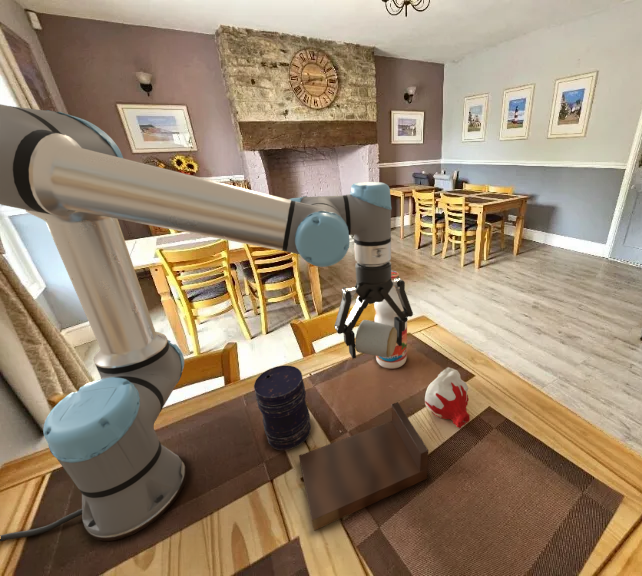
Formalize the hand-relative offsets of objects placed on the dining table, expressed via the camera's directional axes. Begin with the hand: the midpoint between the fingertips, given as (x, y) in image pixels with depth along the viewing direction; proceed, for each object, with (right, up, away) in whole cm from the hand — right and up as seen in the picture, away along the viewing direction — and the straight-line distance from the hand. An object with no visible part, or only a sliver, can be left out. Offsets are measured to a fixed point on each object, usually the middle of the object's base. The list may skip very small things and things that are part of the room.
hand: (375, 348), depth 73 cm
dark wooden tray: (-2, -22, -12) cm, 25 cm away
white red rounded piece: (+17, -16, +2) cm, 23 cm away
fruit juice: (+4, -7, +21) cm, 22 cm away
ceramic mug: (0, 0, 0) cm, 1 cm away
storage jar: (-20, -19, -2) cm, 27 cm away
